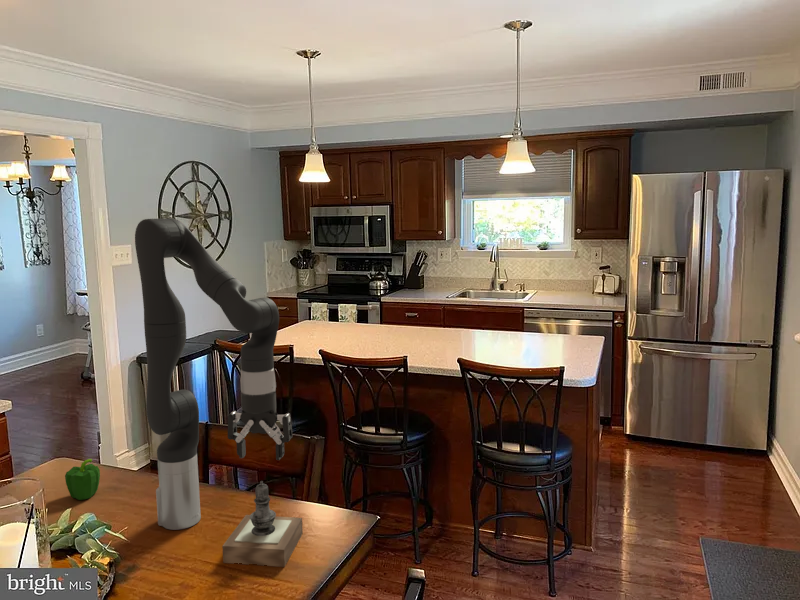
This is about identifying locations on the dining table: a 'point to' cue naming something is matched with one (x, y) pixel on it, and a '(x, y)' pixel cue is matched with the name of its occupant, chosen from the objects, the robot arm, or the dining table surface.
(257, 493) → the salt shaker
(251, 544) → the base block
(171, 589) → the dining table surface
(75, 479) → the bell pepper
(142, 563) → the dining table surface
